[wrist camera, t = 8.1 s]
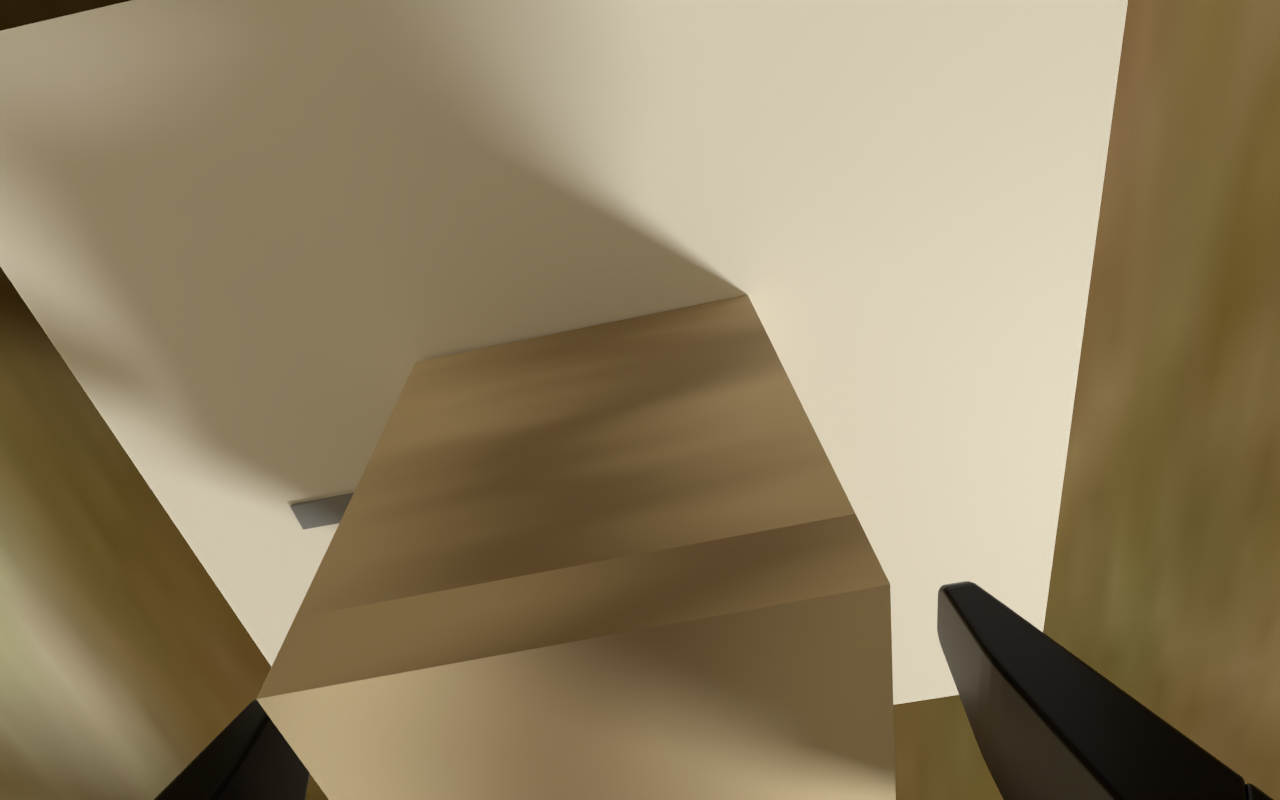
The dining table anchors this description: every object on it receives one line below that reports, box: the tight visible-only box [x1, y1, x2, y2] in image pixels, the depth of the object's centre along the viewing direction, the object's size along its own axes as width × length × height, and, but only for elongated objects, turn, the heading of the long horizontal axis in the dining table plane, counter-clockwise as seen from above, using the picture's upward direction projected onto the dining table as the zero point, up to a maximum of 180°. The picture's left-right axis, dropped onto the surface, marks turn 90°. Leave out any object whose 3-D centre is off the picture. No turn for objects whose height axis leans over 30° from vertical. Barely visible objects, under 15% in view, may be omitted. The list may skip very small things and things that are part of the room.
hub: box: [0, 0, 1128, 705], centre depth 13 cm, size 18×18×6 cm
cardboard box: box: [257, 295, 896, 800], centre depth 11 cm, size 6×6×7 cm
